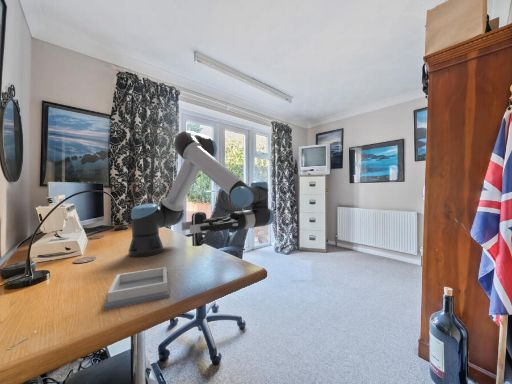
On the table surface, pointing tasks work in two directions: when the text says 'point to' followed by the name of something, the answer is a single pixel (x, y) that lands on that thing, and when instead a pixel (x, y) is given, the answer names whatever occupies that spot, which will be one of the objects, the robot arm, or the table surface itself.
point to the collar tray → (138, 288)
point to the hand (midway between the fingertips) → (186, 227)
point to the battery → (198, 237)
